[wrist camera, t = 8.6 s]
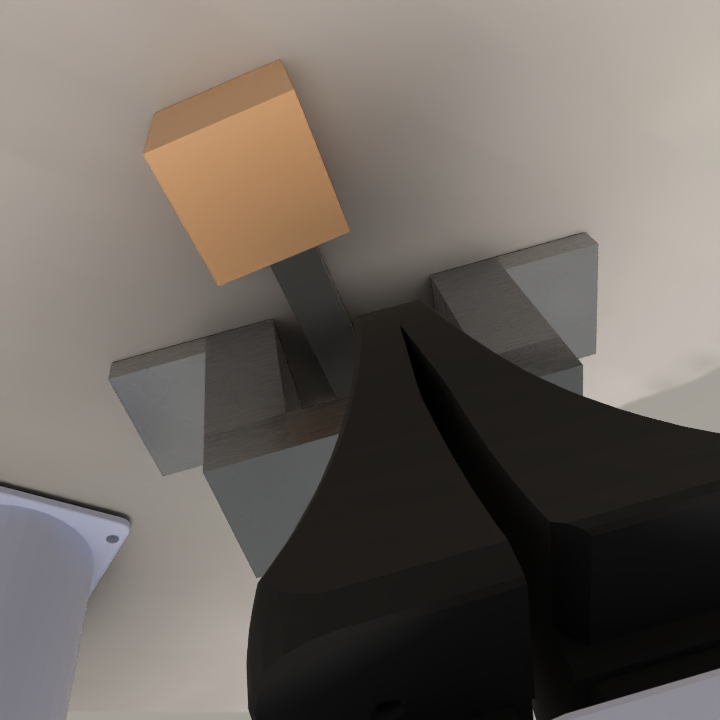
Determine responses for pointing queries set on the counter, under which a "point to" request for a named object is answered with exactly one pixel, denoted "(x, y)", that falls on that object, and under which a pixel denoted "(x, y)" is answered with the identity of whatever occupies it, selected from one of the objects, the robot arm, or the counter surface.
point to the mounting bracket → (323, 421)
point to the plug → (258, 199)
